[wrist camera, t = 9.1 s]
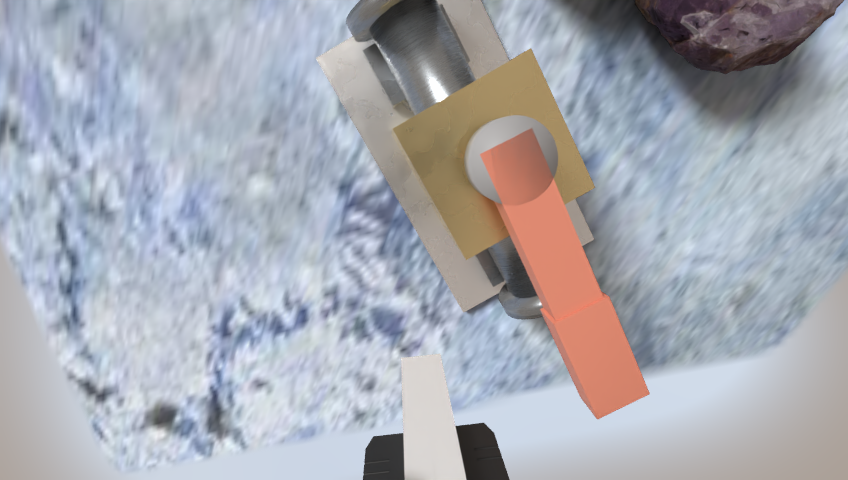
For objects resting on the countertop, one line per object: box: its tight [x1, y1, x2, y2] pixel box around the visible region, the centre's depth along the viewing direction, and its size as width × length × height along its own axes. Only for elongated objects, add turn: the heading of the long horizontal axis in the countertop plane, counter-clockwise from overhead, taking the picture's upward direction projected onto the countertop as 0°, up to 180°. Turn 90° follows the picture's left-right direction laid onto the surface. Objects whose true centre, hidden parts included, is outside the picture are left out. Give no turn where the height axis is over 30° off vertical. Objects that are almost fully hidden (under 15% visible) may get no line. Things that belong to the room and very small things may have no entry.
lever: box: [464, 115, 649, 419], centre depth 22 cm, size 16×4×2 cm, turn 27°
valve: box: [316, 0, 595, 319], centre depth 28 cm, size 12×22×12 cm, turn 29°
